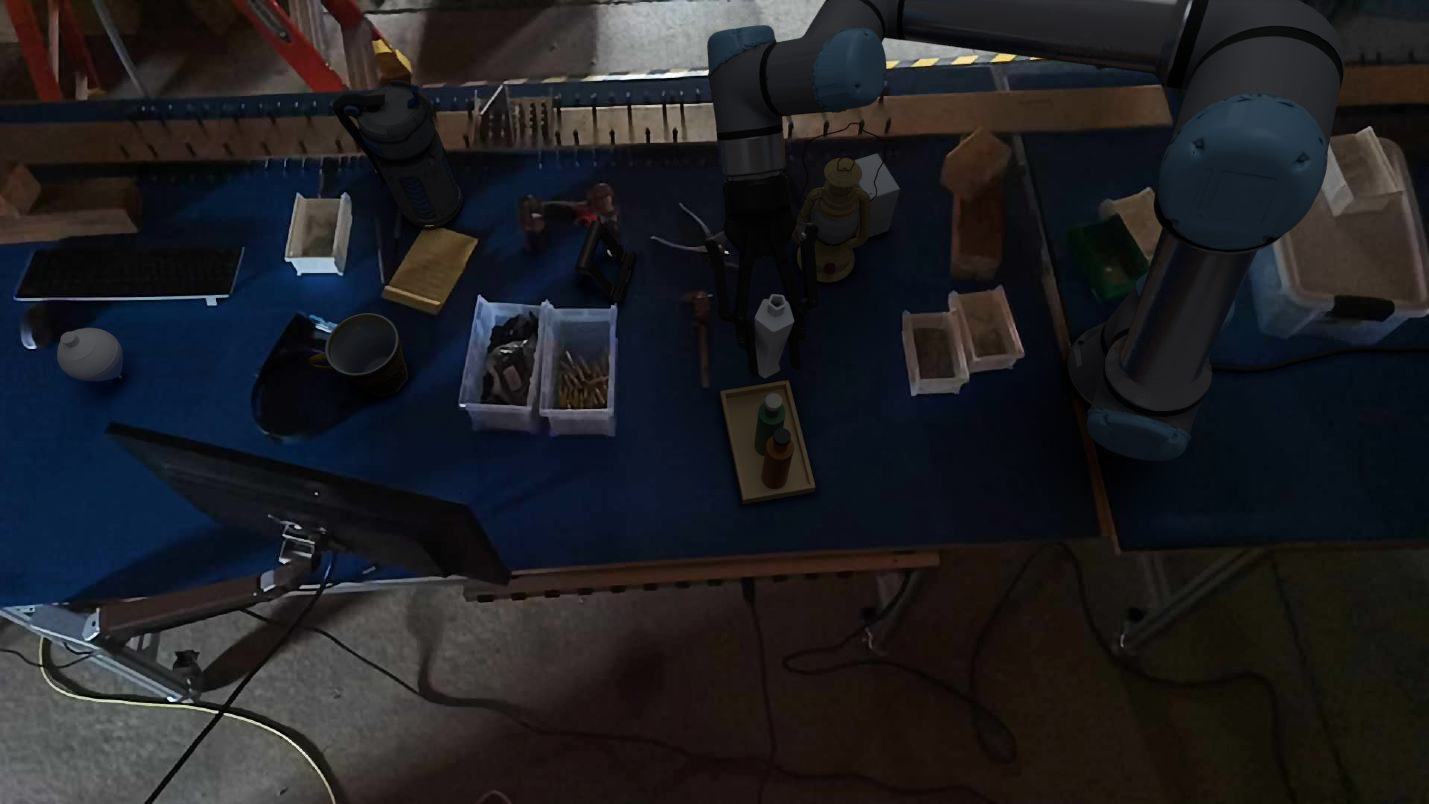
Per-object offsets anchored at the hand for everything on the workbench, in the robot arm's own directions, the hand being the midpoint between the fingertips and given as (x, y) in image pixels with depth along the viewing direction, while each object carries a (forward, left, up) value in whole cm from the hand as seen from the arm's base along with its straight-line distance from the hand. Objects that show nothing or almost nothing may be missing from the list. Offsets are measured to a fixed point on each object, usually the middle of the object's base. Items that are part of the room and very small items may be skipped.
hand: (774, 369), depth 106 cm
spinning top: (+92, -27, -21) cm, 98 cm away
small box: (-24, -36, -21) cm, 48 cm away
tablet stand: (+19, -32, -21) cm, 43 cm away
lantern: (-16, -29, -21) cm, 39 cm away
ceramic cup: (+55, -20, -21) cm, 62 cm away
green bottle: (0, +1, -20) cm, 20 cm away
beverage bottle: (+46, -51, -21) cm, 72 cm away
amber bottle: (0, +6, -20) cm, 21 cm away
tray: (0, +1, -21) cm, 21 cm away
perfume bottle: (0, -4, -5) cm, 7 cm away
